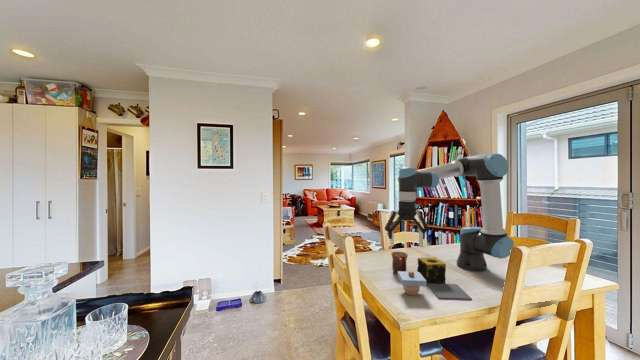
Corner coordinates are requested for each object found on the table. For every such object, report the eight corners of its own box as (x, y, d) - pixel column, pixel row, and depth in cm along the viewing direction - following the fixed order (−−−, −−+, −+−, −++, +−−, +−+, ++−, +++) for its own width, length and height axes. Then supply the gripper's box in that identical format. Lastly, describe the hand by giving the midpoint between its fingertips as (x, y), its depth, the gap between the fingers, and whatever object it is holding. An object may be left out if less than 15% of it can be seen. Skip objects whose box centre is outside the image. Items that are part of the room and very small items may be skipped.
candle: (416, 276, 133) (416, 257, 132) (434, 275, 134) (435, 256, 133) (426, 284, 123) (426, 264, 122) (446, 283, 123) (446, 263, 123)
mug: (390, 268, 143) (390, 251, 143) (406, 270, 141) (406, 251, 141) (392, 277, 131) (392, 257, 131) (409, 278, 129) (409, 259, 129)
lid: (419, 276, 119) (419, 268, 119) (426, 286, 109) (426, 277, 109) (397, 276, 119) (397, 268, 119) (402, 285, 109) (402, 276, 109)
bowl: (416, 289, 117) (416, 278, 117) (421, 296, 110) (421, 284, 110) (401, 288, 118) (401, 277, 118) (405, 296, 111) (405, 284, 111)
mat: (456, 285, 121) (456, 284, 121) (471, 299, 107) (471, 298, 107) (426, 284, 122) (426, 283, 122) (438, 298, 108) (438, 297, 108)
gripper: (430, 200, 121) (429, 243, 121) (378, 199, 121) (377, 243, 121) (437, 201, 113) (436, 248, 114) (382, 201, 113) (381, 247, 113)
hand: (406, 245), depth 117 cm, fingers open, 13 cm apart
